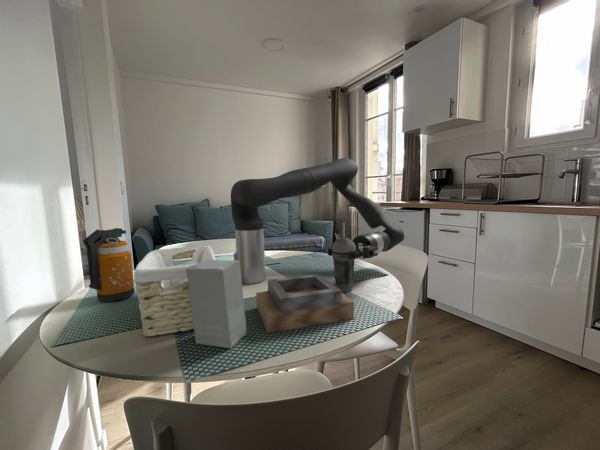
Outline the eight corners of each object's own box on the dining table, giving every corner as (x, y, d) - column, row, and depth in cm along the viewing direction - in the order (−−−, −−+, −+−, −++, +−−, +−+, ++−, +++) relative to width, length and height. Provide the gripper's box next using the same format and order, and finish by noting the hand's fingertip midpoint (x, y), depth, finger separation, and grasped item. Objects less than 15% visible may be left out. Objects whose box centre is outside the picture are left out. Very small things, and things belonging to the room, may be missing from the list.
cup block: (267, 333, 59) (266, 300, 59) (256, 307, 73) (255, 280, 72) (353, 318, 65) (353, 289, 64) (329, 297, 79) (329, 272, 78)
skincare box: (247, 334, 59) (244, 259, 57) (228, 352, 52) (223, 268, 51) (212, 328, 62) (208, 256, 60) (190, 345, 55) (184, 265, 53)
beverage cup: (355, 285, 88) (355, 220, 85) (357, 293, 81) (357, 223, 78) (331, 285, 89) (330, 221, 86) (331, 293, 81) (330, 223, 79)
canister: (141, 294, 84) (135, 226, 82) (102, 308, 74) (94, 232, 72) (122, 290, 88) (115, 225, 86) (82, 303, 78) (74, 230, 76)
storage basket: (153, 301, 79) (148, 248, 77) (214, 293, 84) (211, 243, 83) (136, 343, 56) (130, 271, 55) (221, 328, 62) (218, 262, 60)
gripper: (349, 232, 98) (319, 238, 86) (388, 235, 89) (362, 243, 76) (349, 253, 99) (320, 263, 87) (388, 259, 90) (362, 271, 77)
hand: (339, 254), depth 82 cm, fingers closed on beverage cup, 7 cm apart
